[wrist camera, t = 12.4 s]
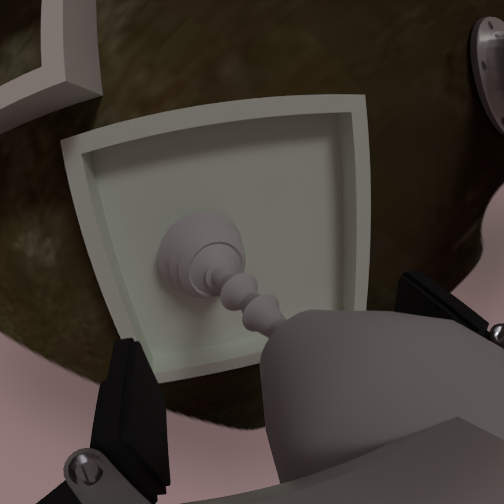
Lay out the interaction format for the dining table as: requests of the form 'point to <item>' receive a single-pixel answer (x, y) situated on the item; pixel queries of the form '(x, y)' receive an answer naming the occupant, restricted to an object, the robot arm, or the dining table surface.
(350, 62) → the dining table surface
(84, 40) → the sleeve
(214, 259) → the chalice
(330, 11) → the dining table surface
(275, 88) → the dining table surface
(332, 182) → the tray
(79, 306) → the dining table surface
